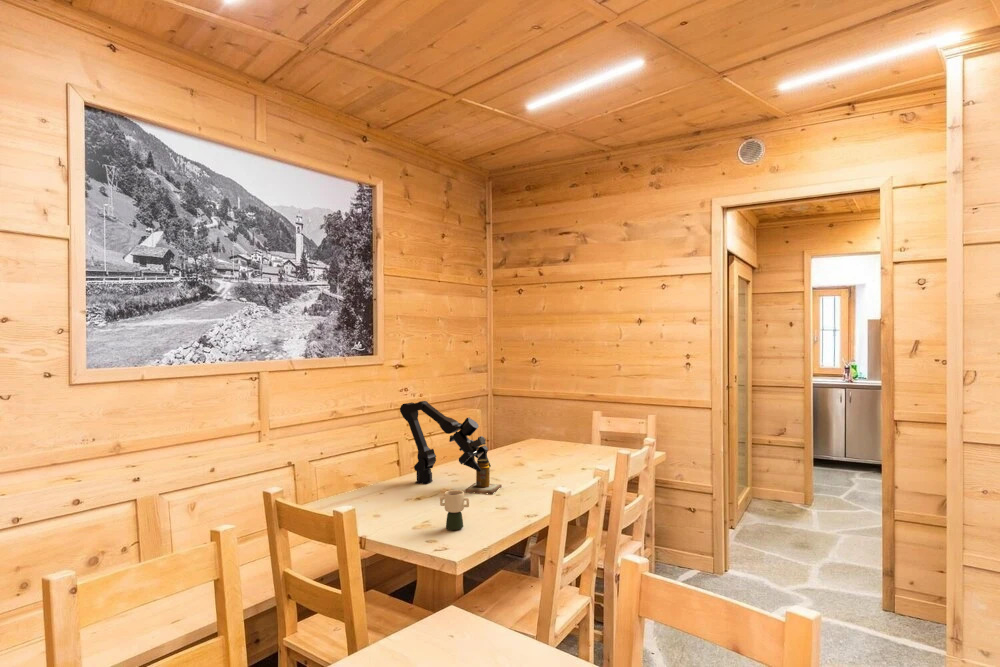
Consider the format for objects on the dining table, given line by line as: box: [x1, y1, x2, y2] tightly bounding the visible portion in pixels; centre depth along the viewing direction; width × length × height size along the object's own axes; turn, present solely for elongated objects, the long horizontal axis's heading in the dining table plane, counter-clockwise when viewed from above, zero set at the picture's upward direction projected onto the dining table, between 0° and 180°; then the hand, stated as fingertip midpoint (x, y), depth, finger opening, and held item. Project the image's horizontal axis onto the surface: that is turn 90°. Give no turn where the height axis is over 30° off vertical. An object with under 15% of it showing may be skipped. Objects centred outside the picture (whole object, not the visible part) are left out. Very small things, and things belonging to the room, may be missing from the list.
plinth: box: [464, 482, 503, 495], centre depth 259 cm, size 13×13×2 cm
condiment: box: [471, 458, 492, 489], centre depth 259 cm, size 7×8×12 cm
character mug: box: [439, 489, 470, 531], centre depth 205 cm, size 11×7×13 cm, turn 78°
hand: (485, 468), depth 259 cm, fingers open, 9 cm apart
